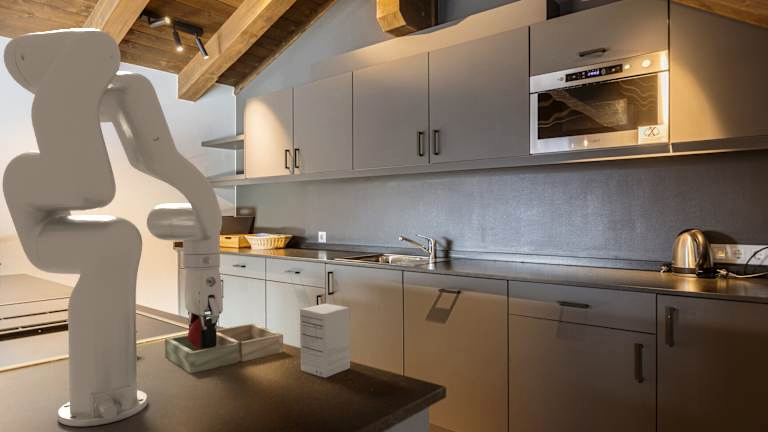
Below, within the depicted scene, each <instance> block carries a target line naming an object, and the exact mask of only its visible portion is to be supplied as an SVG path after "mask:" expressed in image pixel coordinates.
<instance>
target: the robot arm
mask: <svg viewBox="0 0 768 432" xmlns="http://www.w3.org/2000/svg"><path fill="white" fill-rule="evenodd" d="M121 60H122V59H121V51H120V47H119V44H118V43H117V41H116V39H115V38H114V37H113V36H112V35H111V34H110V33H108V32H106V31H103V30H101V29H98V28H97V29H95V28H86V27H85V28H81V27H80V28H70V29H59V30H52V31H43V32H33V33H26V34H22V35H18V36H15V37H14V38H12V39H10V41H8V43H7V44H6V45H5V48H4V51H3V61H4V65H5V68H6V70H7V72H8V74H9V75H10V76H11V78H12V79H13V80H14V81H15V82H16V83H17V84H19V85H20V86H21V87H22V88H23V89H24V90H26V91H28V92H29V93H31V94H33V95H34V96H33V100H32V103H31V111H30V112H31V115H30V116H31V124H32V128H33V131H34V136H35V139H36V143H37V147H38V150H32V151H27V152H24V153H21V154H19V155H16V156H15V157H13V158H12V159H11V160H10V161H9V163H7V165H6V166H5V167H6V168H5V169H4V171H3V176H2V192H3V196H4V200H5V204H6V206H7V209H8V212H9V215H10V217H11V219H12V223H13V226H14V228H15V231H16V233H17V237H18V240H19V242H20V244H21V247H22V249H23V252H24V254H25V256H26V258H27V259H28V261H29V262H30V263H31V265H33V266H34V268H36V269H38V270H39V271H42V272H44V273H50V274H57V275H58V274H60V275H61V274H62V275H79V277H78V280H77V281H76V283H75V285H74V286H73V289H72V291H71V293H70V295H69V301H68V304H67V321H68V322H67V323H68V324H67V326H68V330H67V331H68V333H67V334H68V380H69V381H68V385H69V386H68V387H69V388H68V392H69V393H68V394H69V396H68V397H69V401H68V402H67V403H65V404H63V405H62V406H61V407H60V408H59V409H58V410H57V420H58V422H59V423H61V424H63V425H65V426H69V427H92V426H93V427H94V426H100V425H101V426H102V425H106V424H110V423H113V422H118V421H121V420H124V419H127V418H130V417H132V416H134V415H136V414H137V413H139V412H141V411H142V410H144V409H145V407H146V406H147V405H148V402H149V399H148V395H147V394H146V392H144V391H142V390H139V389H138V364H137V363H138V361H137V357H138V355H137V354H138V353H137V352H138V351H137V350H138V348H137V347H138V345H137V344H138V343H137V341H138V340H137V334H136V330H137V281H138V280H137V279H138V272H139V266H140V262H141V257H142V252H143V237H142V234H141V232H140V230H139V229H138V227H137V225H136V224H134V223H133V222H132V221H130V220H128V219H126V218H123V217H119V216H115V215H99V214H98V215H72V214H71V212H77V211H78V212H79V211H80V212H81V211H93V210H94V211H95V210H99V209H102V208H105V207H107V206H108V205H110V204H111V203H112V202H113V200H114V198H115V197H116V192H117V187H116V181H115V180H116V179H115V175H114V171H113V167H112V164H111V161H110V157H109V152H108V149H107V146H106V141H105V137H104V134H103V130H102V126H101V124H102V123H112V124H113V125H112V126H113V127H114V129H115V132H116V135H117V137H118V139H119V141H120V144H121V146H122V148H123V151H124V153H125V155H126V159H127V161H128V162H129V165H130V166H131V167H133V169H135V170H137V171H138V172H141V173H143V174H144V175H147V176H149V177H151V178H155V180H156V179H157V180H159V181H161V182H164V183H166V184H168V185H170V186H171V187H173V188H174V189H176V190H177V191H179V192H180V193H181V195H183V196H184V197H185V199H186V200H187V202H180V203H176V202H175V203H163V204H159V205H157V206H155V207H154V208H152V209H151V210H150V211H149V213H148V215H147V217H146V226H147V230H148V232H149V233H150V234H151V235H152V236H153V237H155V238H156V239H158V240H163V241H177V242H178V241H180V242H181V241H182V261H183V262H182V269H183V270H185V279H184V280H185V282H184V305H185V306H184V307H185V309H186V311H187V315H188V320H187V322H188V330H189V329H190V327H191V325H192V324H193V323H194V322H195V321H196V320H198V319H199V316H201V323H202V329H203V330H201V348H202V349H206V348H211V347H215V346H216V330H217V329H218V321H219V317H220V314H222V313H223V312H224V311H223V310H224V308H223V307H224V305H223V287H222V286H223V285H222V278H221V277H222V276H221V272H220V268H221V230H222V226H223V216H222V211H221V207H220V204H219V201H218V198H217V194H216V191H215V189H214V187H213V185H212V183H211V182H210V181H209V180H208V178H207V176H205V175H204V173H203V172H201V171H200V169H199V168H198V167H197V166H195V165H194V164H193V163H192V162H191V161H190V160H189V159H187V157H184V156H183V155H182V154H181V153H180V152H179V151H178V148H177V147H176V145H175V140H174V139H173V136H172V134H171V130H170V127H169V124H168V122H167V119H166V116H165V113H164V111H163V110H164V109H163V108H162V105H161V103H160V100H159V97H158V95H157V94H158V93H157V91H156V89H155V87H154V85H153V83H152V82H151V80H150V79H149V78H148V77H146V76H145V75H143V74H141V73H139V72H131V71H119V70H120V67H121V62H122V61H121ZM209 312H210V313H209ZM206 318H207V319H208V320H207V322H206ZM189 342H190V341H189Z"/></svg>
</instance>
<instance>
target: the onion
mask: <svg viewBox="0 0 768 432" xmlns="http://www.w3.org/2000/svg"><path fill="white" fill-rule="evenodd" d="M207 320H208V318H206V322H207ZM201 330H203V329H202V323H201V316H199V319H198V320H196V321H195V322H194V323H193V324H192V325H191V327H190V329H189V328H188V333H187V335H188V339H189V341H190V343H191V344H192V345H193V346H195V347H196V348H197V349H198V350H203V349H202V348H201ZM216 334H217V333H216Z"/></svg>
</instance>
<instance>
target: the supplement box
mask: <svg viewBox="0 0 768 432" xmlns="http://www.w3.org/2000/svg"><path fill="white" fill-rule="evenodd" d="M299 321H300V322H299V328H300V331H299V332H300V333H299V335H300V336H299V338H300V370H301V371H302V372H306V373H307V374H312V375H315V376H317V377H321V378H325V379H326V378H328V377H330V376H333V375H336V374H338V373H341V372H343V371H346V370H349V369H351V340H350V339H351V338H350V337H351V334H350V330H351V329H350V328H351V323H350V307H348V306H343V305H336V304H330V303H322V304H317V305H313V306H309V307H304V308H299Z"/></svg>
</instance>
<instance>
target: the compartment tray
mask: <svg viewBox="0 0 768 432" xmlns="http://www.w3.org/2000/svg"><path fill="white" fill-rule="evenodd" d="M216 333H217V334H216V346H215V347H211V348H206V349H203V350H198V349H197V348H196V347H195V346H193V345H192V344H191V343H190V342H189V339H188V334H184V335H179V336H174V337H168V338H164V358H166V359H168V360H170V361H171V362H173V363H174V364H175V365H177V366H178V367H180V368H182V369H183V370H185V371H186V372H187V373H189V374H195V373H198V372H202V371H206V370H212V369H216V368H220V367H224V366H229V365H232V364H237V363H239V362H240V361H241V362H246V361H247V362H248V361H252V360H254V359H255V360H256V359H259V358H263V357H269V356H272V355H276V354H282V353H284V334H282V333H280V332H277V331H274V330H271V329H269V328H266V327H264V326H261V325H258V324H255V323H253V322H252V323H247V324H242V325H236V326H229V327H224V328H217V329H216Z"/></svg>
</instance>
